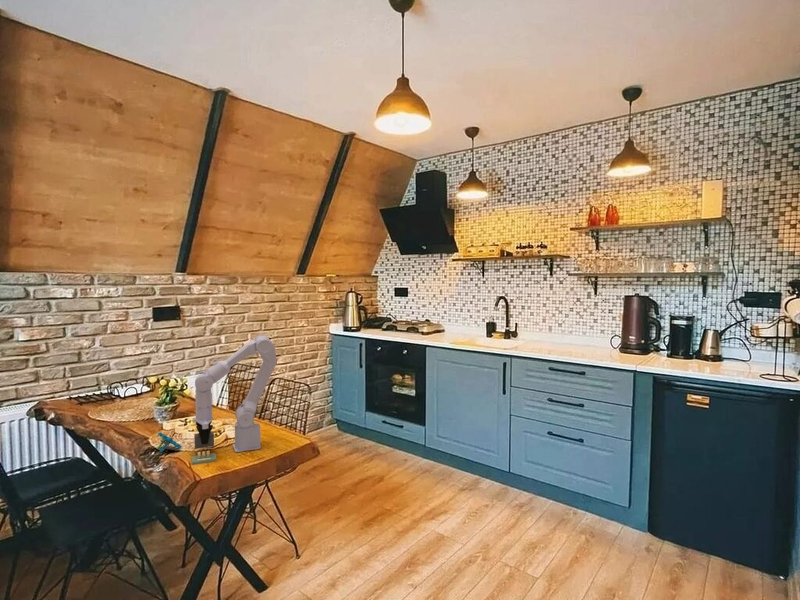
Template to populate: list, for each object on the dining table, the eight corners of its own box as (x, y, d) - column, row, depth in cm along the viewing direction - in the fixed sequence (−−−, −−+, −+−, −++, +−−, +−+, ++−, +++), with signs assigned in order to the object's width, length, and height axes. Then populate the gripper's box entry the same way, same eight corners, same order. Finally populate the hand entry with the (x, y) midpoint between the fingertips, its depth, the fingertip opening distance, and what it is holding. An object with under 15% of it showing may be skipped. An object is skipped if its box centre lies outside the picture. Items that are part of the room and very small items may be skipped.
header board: (214, 454, 171) (214, 447, 171) (216, 461, 166) (216, 453, 166) (191, 458, 168) (191, 450, 167) (191, 464, 162) (191, 456, 162)
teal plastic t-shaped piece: (186, 447, 174) (165, 432, 169) (175, 461, 171) (154, 446, 166) (176, 442, 182) (155, 428, 177) (165, 456, 179) (144, 442, 174)
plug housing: (213, 442, 176) (213, 431, 176) (214, 446, 173) (214, 434, 172) (194, 445, 173) (194, 433, 173) (194, 448, 170) (194, 437, 169)
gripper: (191, 402, 177) (191, 436, 178) (193, 413, 164) (193, 450, 165) (211, 400, 180) (211, 434, 181) (214, 410, 167) (214, 447, 168)
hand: (204, 441), depth 173 cm, fingers closed on plug housing, 4 cm apart
